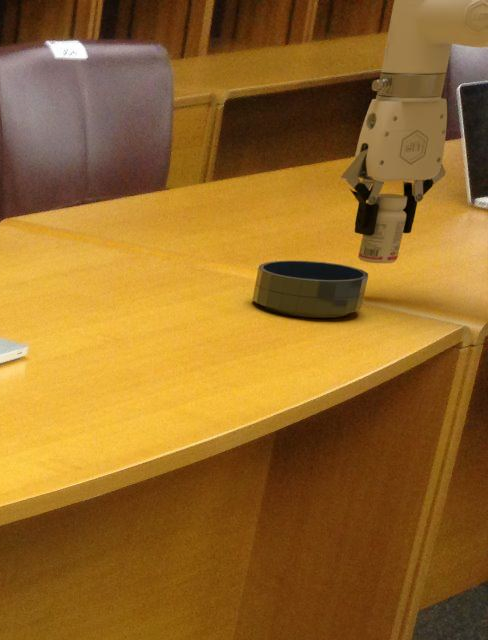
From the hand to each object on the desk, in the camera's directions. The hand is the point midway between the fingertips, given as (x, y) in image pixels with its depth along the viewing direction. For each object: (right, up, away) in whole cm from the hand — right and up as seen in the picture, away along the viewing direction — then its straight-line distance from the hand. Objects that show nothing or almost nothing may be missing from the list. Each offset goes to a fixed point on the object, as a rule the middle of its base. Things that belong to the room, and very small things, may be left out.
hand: (382, 231), depth 204 cm
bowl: (-11, -11, -2) cm, 16 cm away
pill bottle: (0, -4, +2) cm, 4 cm away
